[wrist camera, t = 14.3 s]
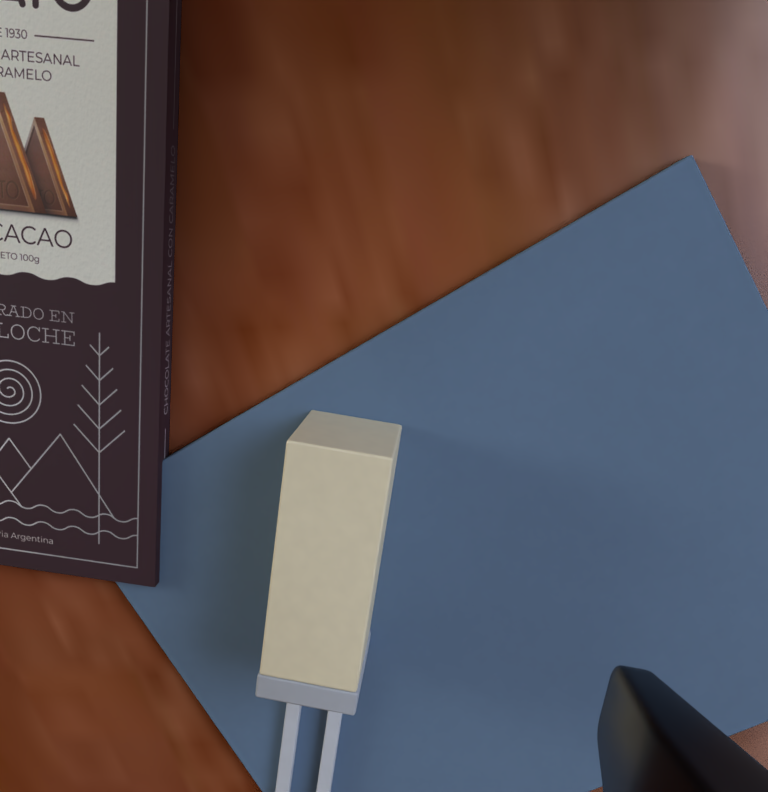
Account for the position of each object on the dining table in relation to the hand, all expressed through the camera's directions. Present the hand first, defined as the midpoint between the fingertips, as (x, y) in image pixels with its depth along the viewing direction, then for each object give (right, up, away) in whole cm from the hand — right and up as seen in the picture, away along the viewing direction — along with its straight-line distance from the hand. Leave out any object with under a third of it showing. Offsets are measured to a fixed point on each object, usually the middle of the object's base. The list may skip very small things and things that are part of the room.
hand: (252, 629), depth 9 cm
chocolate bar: (-9, +7, +11) cm, 16 cm away
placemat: (+5, -2, +12) cm, 13 cm away
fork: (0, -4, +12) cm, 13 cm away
